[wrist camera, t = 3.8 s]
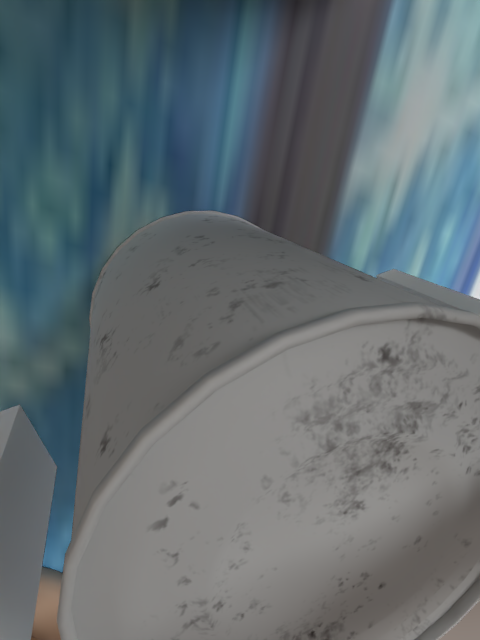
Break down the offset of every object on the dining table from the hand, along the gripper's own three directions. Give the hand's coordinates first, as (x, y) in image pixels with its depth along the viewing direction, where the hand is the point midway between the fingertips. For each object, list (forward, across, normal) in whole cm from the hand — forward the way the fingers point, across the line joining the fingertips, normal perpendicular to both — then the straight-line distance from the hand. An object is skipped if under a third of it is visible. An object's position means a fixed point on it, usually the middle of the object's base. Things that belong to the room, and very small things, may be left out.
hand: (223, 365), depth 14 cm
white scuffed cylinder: (+5, 0, 0) cm, 5 cm away
